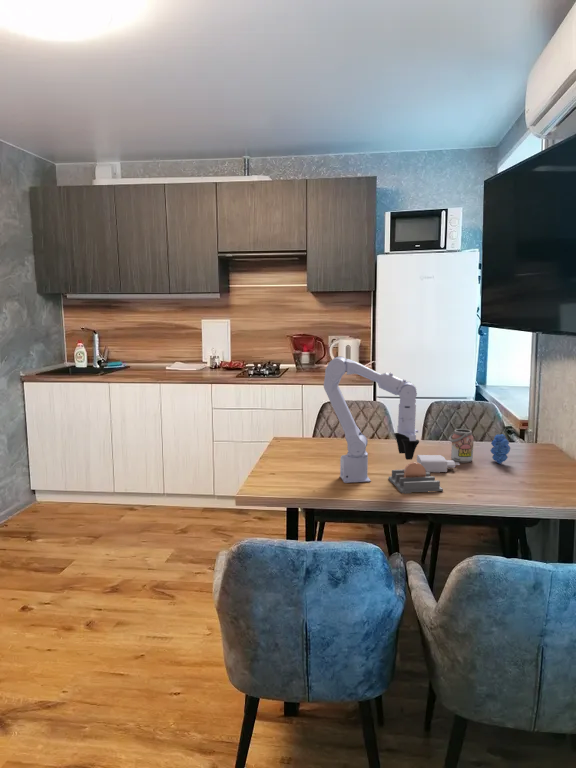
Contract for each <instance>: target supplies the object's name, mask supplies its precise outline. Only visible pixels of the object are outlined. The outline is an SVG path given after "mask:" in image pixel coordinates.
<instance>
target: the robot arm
mask: <svg viewBox="0 0 576 768" xmlns="http://www.w3.org/2000/svg"><path fill="white" fill-rule="evenodd" d="M345 374H346V376H347V375H359V376H360V377H363V378H364V379H365V378H366V379H368V380H370V381H372V382H375V383H376V384H377V386H378V388H379V389H381V390H384V391H386V392H388V393H390V394H393V395H394V396H399V404H398V418H397V431H396V432H393V435H394V437H395V441H396V444H397V449H398V453H399V454H404V457H405V460H407V461H409V460H411V461H412V460H413V458H414V454H415V451H416V449H417V446H418V445H419V443H420V440H419V439H417V434H416V433H419V430H418V429H416V416H417V414H416V413H417V408H416V407H417V405H416V404H417V403H416V402H417V401H416V400H417V399H416V398H417V395H418V393H417V387H416V386H415V384H414V383H412V382H411V381H407V380H406V379H402V378H399V377H397V376H394V373H393V372H384V373H380V372H378V371H375V370H374V369H372V368H369V367H367V366H365V365H364V364H362V363H360V362H357V361H355V360H354V359H353V360H352V359H350V358H346V357H344V356H340V355H338V356H336V357H333V359H331V360H330V361H329V362H328V364H327V366H326V367H325V373H324V380H323V388H324V391H325V394H326V396H327V397H328V400H329V402H330V404H331V407H332V408H333V410H334V413H335V415H336V417H337V419H338V421H339V424H340V427H341V428H342V430H343V432H344V436H345V440H346V443H347V453H346V454H342V455H341V456H340V459H339V461H340V463H339V464H340V468H339V469H340V470H339V471H340V473H339V477H340V478H341V480H342V482H343V483H345V484H347V483H350V484H351V483H369V482H372V480H371V479H370V477H369V476H368V473H369V472H368V471H369V469H368V465H369V463H368V462H369V461H368V460H369V459H368V458H369V457H368V456H369V453H368V452H367V446H368V439H367V437H366V435H364V434H363V433H362V432H361V430H360V428H359V427H358V426H357V423H356V422H355V419H354V416H353V415H352V413H351V409H350V408H349V407H348V404H347V402H346V400H345V398H344V395H343V393H342V391H341V388H340V386H339V385H340V382H341V380H342V377H343V376H344V375H345Z"/></svg>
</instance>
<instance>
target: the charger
mask: <svg viewBox="0 0 576 768" xmlns="http://www.w3.org/2000/svg"><path fill="white" fill-rule="evenodd" d="M416 462H418V463H420V464H421V465H422V466H423V467H424V468H425V469H426V473H427V472H429V473H440V472H445V473H447V472H448V468H449V469H451V468H452V469H455V468H456V466H460V465H461V463H460V462H455V461H453V460H452V459H450V460H449V459H446V458H445V456H443V455H442V454H417V455H416Z"/></svg>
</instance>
